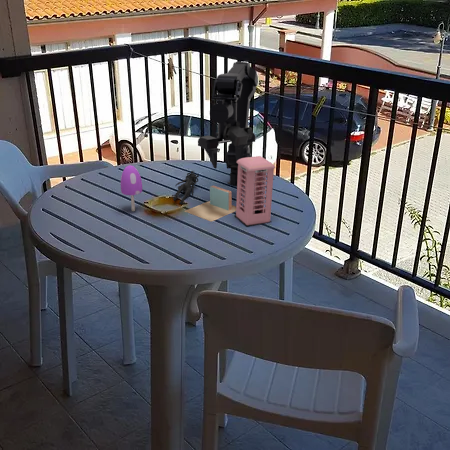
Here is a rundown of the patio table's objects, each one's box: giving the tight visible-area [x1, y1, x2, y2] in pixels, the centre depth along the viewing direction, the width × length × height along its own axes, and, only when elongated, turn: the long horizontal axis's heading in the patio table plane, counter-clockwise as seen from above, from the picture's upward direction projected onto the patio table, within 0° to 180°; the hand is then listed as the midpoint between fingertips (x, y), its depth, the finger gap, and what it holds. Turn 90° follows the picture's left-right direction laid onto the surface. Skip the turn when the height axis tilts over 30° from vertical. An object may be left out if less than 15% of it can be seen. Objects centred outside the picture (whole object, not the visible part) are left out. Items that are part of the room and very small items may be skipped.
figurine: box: [171, 170, 200, 205], centre depth 187 cm, size 7×6×18 cm
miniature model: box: [233, 155, 276, 228], centre depth 165 cm, size 9×9×20 cm
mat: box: [184, 200, 236, 222], centre depth 176 cm, size 14×12×1 cm
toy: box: [120, 164, 143, 212], centre depth 173 cm, size 7×7×15 cm
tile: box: [209, 185, 233, 210], centre depth 177 cm, size 2×8×6 cm, turn 47°
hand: (226, 165), depth 176 cm, fingers open, 9 cm apart
